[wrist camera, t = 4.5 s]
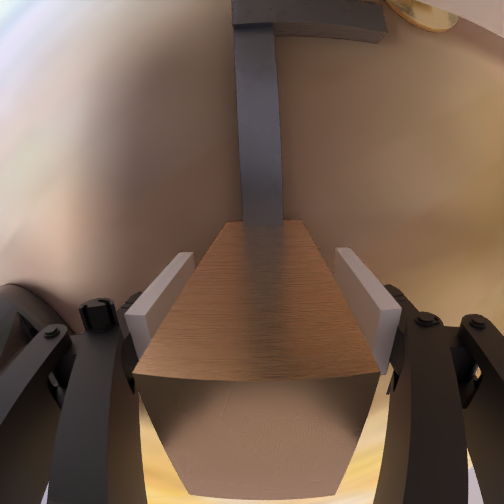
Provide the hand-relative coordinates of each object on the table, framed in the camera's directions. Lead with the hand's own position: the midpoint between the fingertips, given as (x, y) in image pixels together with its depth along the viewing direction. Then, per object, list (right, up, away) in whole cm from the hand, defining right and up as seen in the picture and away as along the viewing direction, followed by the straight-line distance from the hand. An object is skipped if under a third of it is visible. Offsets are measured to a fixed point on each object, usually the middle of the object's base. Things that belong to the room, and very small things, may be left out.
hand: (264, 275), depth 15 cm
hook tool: (+2, +7, 0) cm, 7 cm away
